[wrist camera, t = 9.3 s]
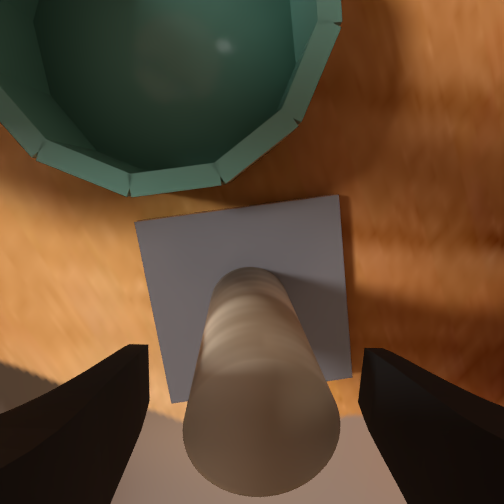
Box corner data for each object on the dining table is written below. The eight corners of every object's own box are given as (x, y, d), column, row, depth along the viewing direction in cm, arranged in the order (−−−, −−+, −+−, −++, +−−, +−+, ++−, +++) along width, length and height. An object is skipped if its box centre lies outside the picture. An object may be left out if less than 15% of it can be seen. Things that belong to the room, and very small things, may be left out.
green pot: (68, 205, 17) (-3, 215, 12) (-6, -96, 14) (-136, -244, 9) (318, 171, 17) (352, 167, 12) (292, -131, 14) (321, -295, 9)
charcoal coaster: (174, 394, 19) (171, 403, 18) (139, 220, 17) (134, 222, 16) (347, 369, 19) (352, 377, 18) (334, 194, 17) (338, 194, 16)
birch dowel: (209, 339, 18) (182, 497, 9) (211, 265, 17) (182, 358, 8) (285, 340, 18) (332, 496, 9) (290, 267, 17) (347, 360, 8)
